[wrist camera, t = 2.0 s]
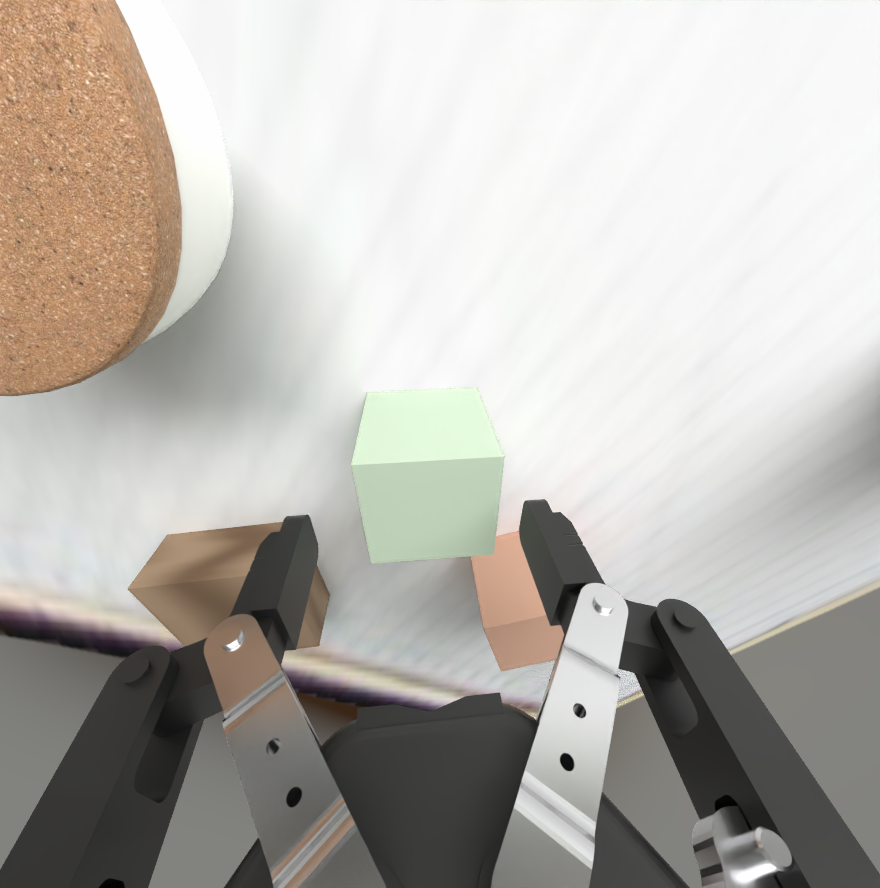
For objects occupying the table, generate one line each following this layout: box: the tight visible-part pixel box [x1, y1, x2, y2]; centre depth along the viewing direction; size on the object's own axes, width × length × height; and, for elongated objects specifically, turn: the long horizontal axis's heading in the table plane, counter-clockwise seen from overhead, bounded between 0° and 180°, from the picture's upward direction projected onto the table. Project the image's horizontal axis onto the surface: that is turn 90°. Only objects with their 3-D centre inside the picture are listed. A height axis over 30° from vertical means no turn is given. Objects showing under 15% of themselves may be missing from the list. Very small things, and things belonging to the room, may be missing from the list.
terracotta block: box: [471, 531, 564, 671], centre depth 23 cm, size 6×6×6 cm
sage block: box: [351, 387, 504, 564], centre depth 17 cm, size 6×6×6 cm
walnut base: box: [128, 522, 330, 649], centre depth 23 cm, size 8×8×4 cm
